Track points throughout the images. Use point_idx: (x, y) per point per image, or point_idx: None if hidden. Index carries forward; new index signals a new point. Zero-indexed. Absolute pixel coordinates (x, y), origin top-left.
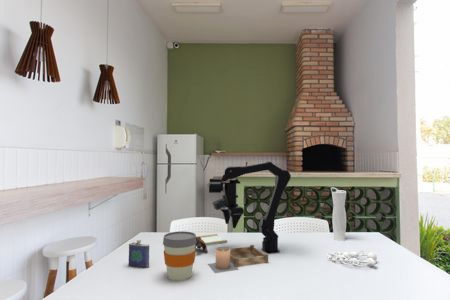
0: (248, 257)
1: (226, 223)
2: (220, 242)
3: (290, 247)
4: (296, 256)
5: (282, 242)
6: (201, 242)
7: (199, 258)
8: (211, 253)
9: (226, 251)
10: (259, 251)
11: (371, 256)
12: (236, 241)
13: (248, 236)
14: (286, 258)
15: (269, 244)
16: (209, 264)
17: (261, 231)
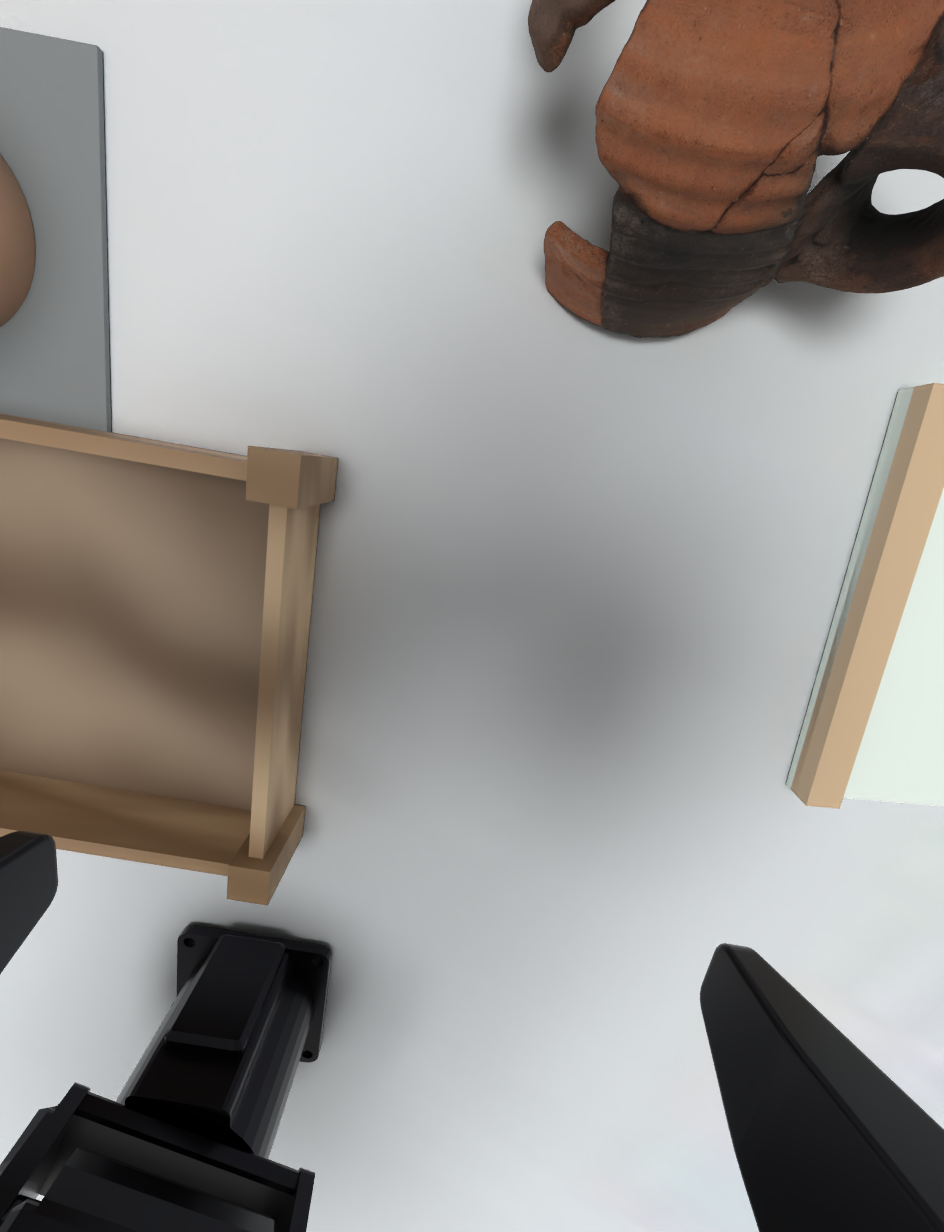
0: (146, 698)
1: (724, 963)
2: (823, 695)
3: None
4: (37, 1067)
5: (439, 1200)
6: (628, 54)
7: (404, 56)
8: (517, 362)
9: None
10: None
11: None
12: (758, 898)
13: None
14: (15, 978)
15: (152, 1046)
16: (71, 71)
17: (11, 1219)
